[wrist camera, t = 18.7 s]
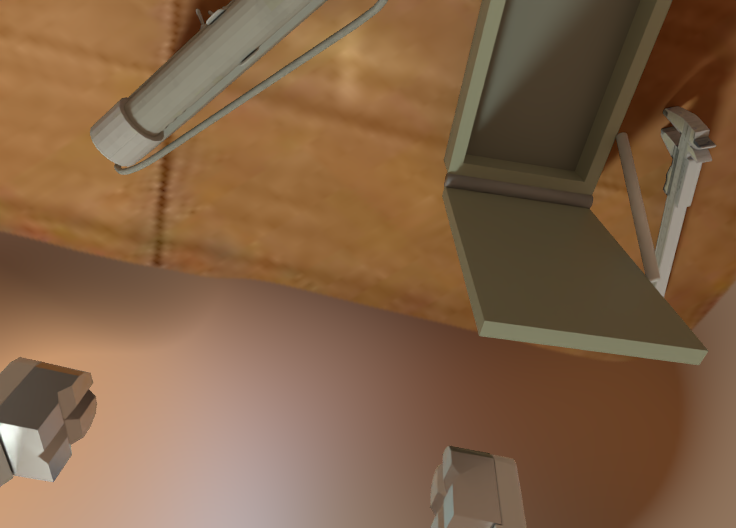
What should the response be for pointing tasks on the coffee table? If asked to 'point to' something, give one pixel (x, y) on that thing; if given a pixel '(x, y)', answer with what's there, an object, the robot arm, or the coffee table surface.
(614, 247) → the equipment case
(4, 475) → the robot arm
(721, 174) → the coffee table surface
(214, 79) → the geiger counter
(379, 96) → the coffee table surface
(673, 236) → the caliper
